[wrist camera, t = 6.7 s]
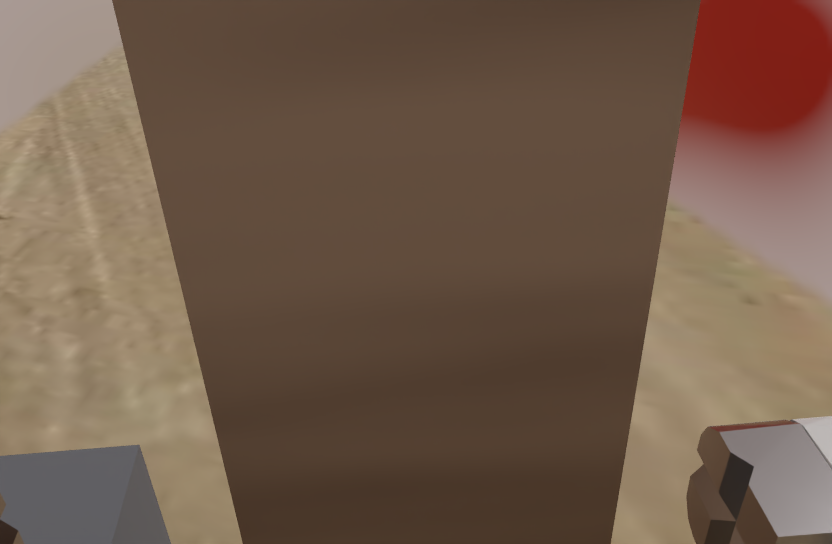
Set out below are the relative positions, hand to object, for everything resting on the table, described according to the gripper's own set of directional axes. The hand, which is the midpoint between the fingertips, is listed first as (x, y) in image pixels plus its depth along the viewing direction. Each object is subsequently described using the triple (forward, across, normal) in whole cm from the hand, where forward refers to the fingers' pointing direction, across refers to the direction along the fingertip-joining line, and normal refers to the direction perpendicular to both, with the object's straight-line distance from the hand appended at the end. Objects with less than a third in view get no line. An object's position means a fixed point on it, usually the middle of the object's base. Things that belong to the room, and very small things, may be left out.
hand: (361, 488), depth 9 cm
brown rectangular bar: (+1, +1, -9) cm, 9 cm away
